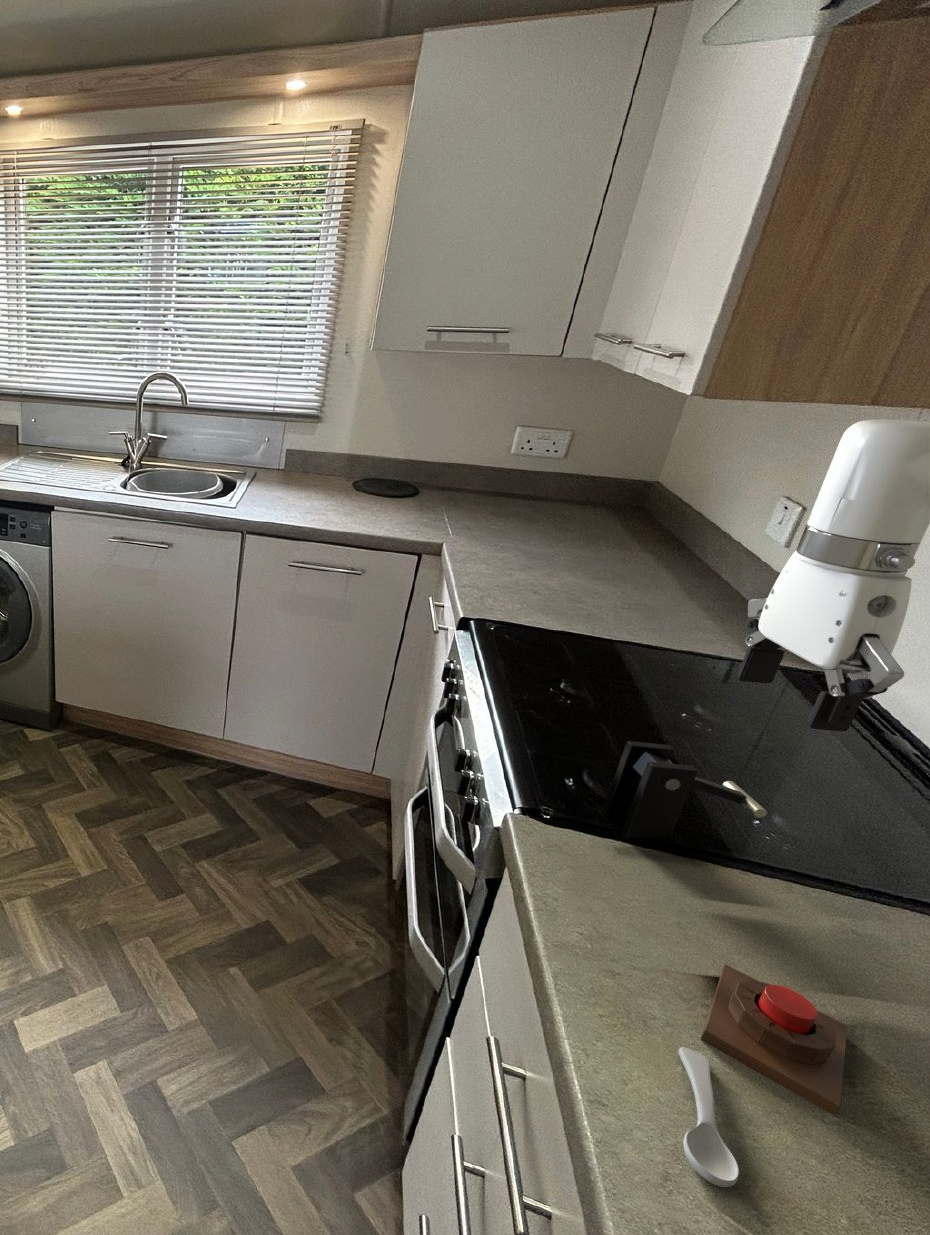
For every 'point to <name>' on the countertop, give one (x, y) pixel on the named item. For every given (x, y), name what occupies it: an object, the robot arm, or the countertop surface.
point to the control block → (776, 1042)
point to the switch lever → (709, 786)
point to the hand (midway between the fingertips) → (787, 703)
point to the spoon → (706, 1127)
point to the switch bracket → (648, 794)
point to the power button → (787, 1009)
